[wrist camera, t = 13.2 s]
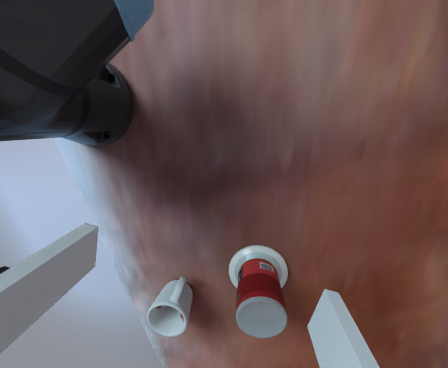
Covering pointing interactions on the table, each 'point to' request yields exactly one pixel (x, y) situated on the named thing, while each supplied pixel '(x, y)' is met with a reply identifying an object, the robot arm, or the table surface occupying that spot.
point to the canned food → (260, 300)
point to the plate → (258, 252)
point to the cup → (171, 309)
